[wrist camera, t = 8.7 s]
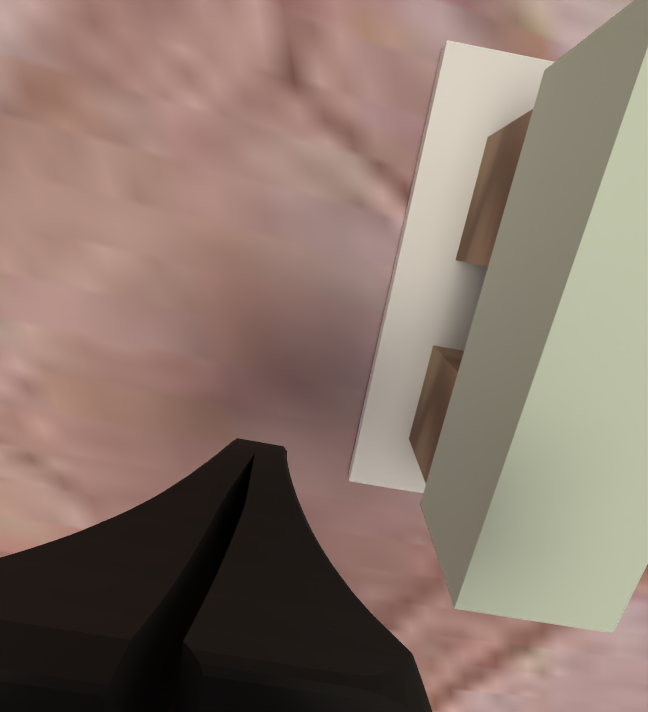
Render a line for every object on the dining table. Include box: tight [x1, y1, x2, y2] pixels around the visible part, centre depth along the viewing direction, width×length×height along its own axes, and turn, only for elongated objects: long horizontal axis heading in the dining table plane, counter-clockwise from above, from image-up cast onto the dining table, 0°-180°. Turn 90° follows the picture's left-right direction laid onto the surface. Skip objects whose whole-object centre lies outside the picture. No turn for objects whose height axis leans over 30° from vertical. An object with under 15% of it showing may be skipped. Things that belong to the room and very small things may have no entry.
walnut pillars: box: [409, 109, 533, 483], centre depth 17 cm, size 14×5×4 cm, turn 170°
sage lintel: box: [420, 0, 648, 633], centre depth 13 cm, size 16×5×5 cm, turn 170°
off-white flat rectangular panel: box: [349, 40, 554, 493], centre depth 19 cm, size 20×10×1 cm, turn 170°
